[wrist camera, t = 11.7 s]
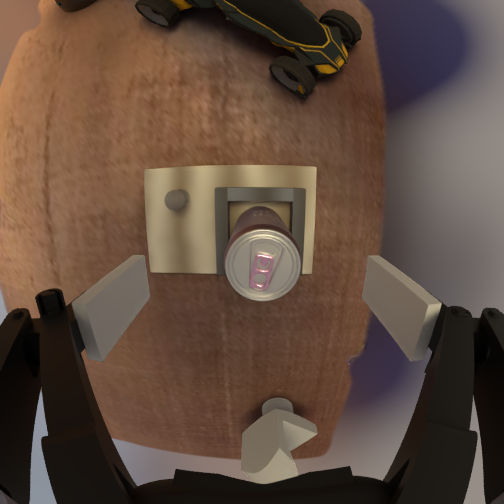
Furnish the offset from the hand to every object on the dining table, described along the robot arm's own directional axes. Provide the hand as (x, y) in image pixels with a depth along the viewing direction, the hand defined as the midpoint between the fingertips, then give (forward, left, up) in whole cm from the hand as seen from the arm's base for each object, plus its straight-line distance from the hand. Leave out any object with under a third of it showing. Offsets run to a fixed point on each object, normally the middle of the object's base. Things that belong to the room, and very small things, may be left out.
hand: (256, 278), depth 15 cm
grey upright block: (+5, -36, -23) cm, 43 cm away
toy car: (-1, +31, -23) cm, 39 cm away
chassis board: (-3, 0, -23) cm, 23 cm away
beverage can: (+1, -1, -20) cm, 20 cm away
